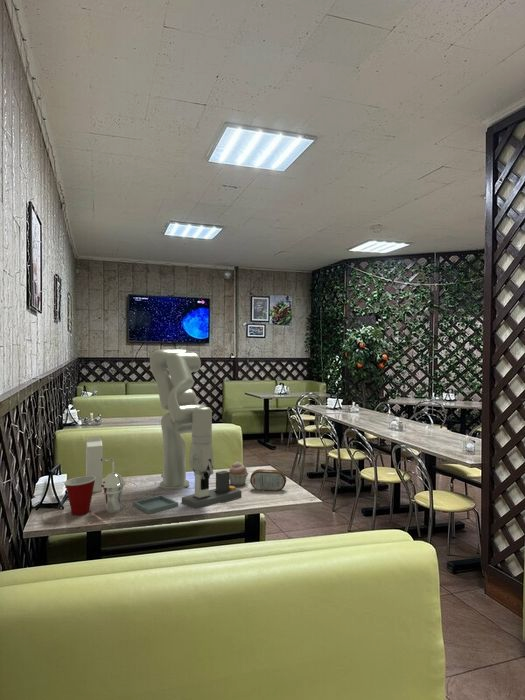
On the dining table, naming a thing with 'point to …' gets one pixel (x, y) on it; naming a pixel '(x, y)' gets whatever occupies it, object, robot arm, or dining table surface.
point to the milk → (95, 461)
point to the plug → (199, 485)
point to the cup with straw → (112, 489)
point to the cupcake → (237, 474)
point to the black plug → (222, 482)
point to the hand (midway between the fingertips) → (202, 487)
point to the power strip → (211, 498)
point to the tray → (155, 504)
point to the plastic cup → (80, 493)
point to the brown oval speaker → (268, 480)
